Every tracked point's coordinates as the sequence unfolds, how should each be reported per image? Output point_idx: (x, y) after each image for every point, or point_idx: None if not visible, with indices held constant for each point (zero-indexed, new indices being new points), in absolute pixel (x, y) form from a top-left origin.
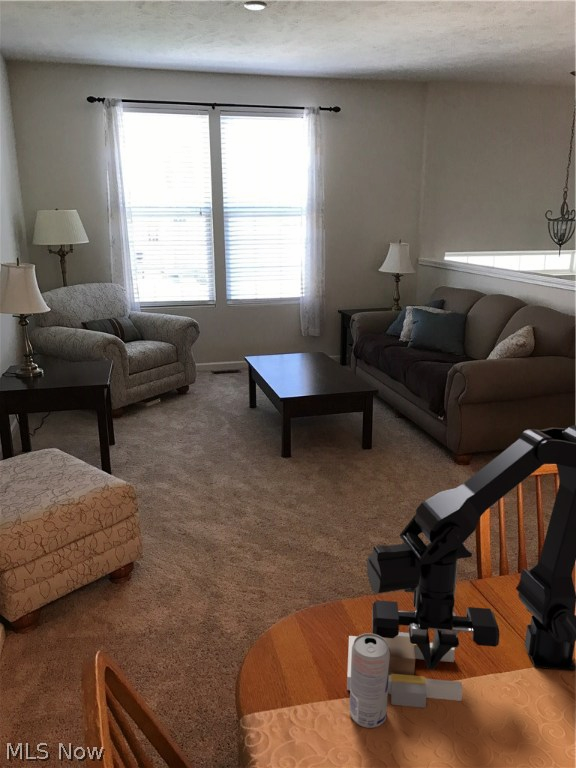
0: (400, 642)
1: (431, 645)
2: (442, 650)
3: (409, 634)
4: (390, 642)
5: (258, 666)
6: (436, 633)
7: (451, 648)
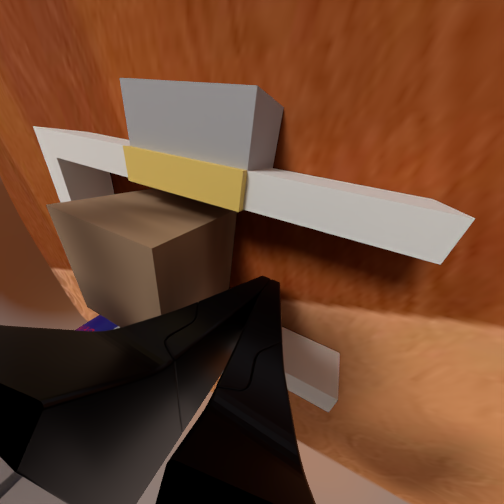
0: (112, 270)
1: (300, 208)
2: (223, 499)
3: (24, 425)
4: (85, 260)
5: (12, 187)
6: (177, 501)
7: (421, 252)
